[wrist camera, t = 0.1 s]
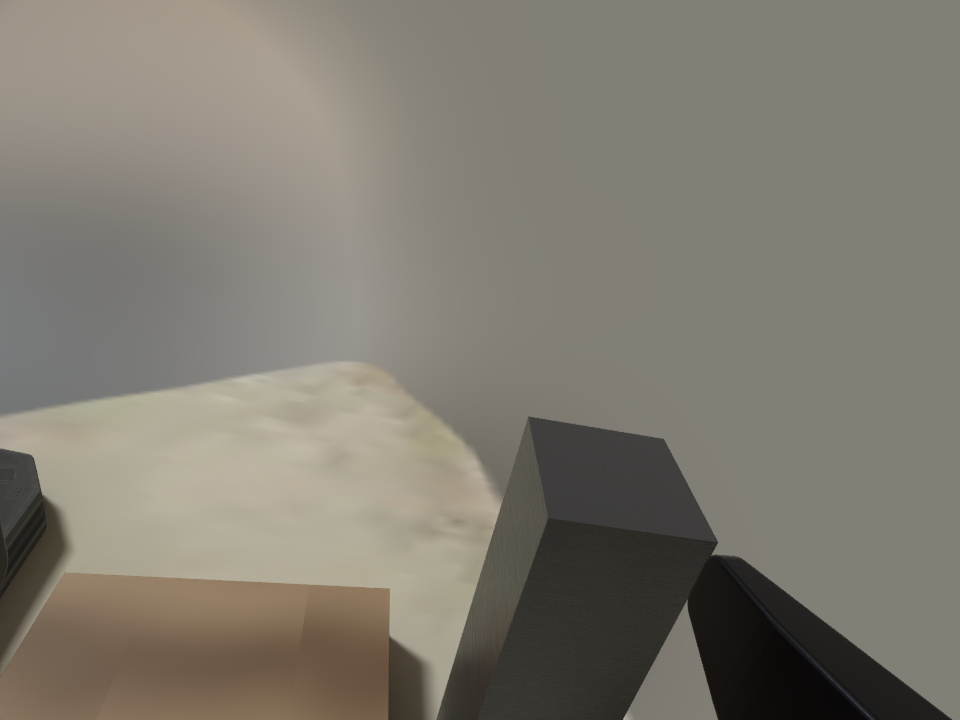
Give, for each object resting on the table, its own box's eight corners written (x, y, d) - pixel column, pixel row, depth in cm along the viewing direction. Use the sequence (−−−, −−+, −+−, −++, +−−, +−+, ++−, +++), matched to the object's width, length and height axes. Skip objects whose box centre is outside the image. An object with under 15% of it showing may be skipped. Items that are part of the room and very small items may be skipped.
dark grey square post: (552, 850, 20) (718, 542, 14) (433, 842, 19) (548, 517, 13) (537, 728, 23) (663, 439, 17) (436, 719, 23) (528, 416, 17)
